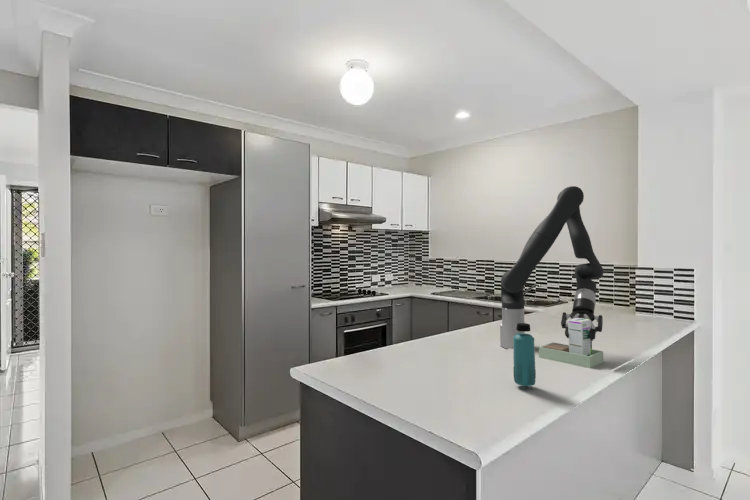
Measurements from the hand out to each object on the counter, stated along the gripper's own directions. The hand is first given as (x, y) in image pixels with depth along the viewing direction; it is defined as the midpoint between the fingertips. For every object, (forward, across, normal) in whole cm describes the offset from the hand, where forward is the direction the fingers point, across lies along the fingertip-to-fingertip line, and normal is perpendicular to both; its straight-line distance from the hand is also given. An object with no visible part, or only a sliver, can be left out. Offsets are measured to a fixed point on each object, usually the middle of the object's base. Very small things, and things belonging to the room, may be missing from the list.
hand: (579, 338), depth 152 cm
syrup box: (+5, 0, +6) cm, 8 cm away
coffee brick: (+4, -8, +9) cm, 13 cm away
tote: (+5, -4, +8) cm, 11 cm away
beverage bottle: (+33, -10, -19) cm, 39 cm away
